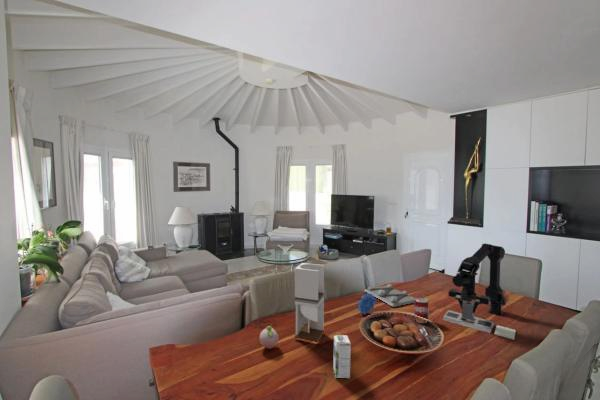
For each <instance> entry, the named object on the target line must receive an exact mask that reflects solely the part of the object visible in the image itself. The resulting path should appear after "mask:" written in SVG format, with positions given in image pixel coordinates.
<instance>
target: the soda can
mask: <svg viewBox="0 0 600 400" xmlns="http://www.w3.org/2000/svg"><path fill="white" fill-rule="evenodd" d="M415 298H416V299H415V300H414V303H413V315H414V314H415V315H417V316H420V317H423V318H426V319H428V320H429V307H430V302H429V300H428V299H426V298H424V297H415Z"/></svg>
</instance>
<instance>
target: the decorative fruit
mask: <svg viewBox="0 0 600 400" xmlns="http://www.w3.org/2000/svg"><path fill="white" fill-rule="evenodd" d="M259 342H260V345H261V346H263V347H264V348H265V349H269V350H270V349H273V348H274V347H276V346H277V344H278V343H279V334H278V332H277V331H276V330H275V329H274V328H273V327H272V326H271V325H268V326H266V327H265V328H264V329H262V331H260V333H259Z"/></svg>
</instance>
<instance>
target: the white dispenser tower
mask: <svg viewBox="0 0 600 400" xmlns="http://www.w3.org/2000/svg"><path fill="white" fill-rule="evenodd" d="M324 292H325V265H324V264H318V263H307V262H301V263H300V264H298V266H296V267H295V268H294V305H295V335H294V339H295V338H300V339H305V340H310V341H315V342H318V340H319V338H320V337H321V335H322V333H323V331H324V329H325V326H324V323H325V322H324V321H325V317H324V316H325V315H324V313H325V312H324V311H325V306H324V305H325V301H324V298H325V294H324ZM321 338H322V337H321Z"/></svg>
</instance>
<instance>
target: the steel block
mask: <svg viewBox="0 0 600 400" xmlns="http://www.w3.org/2000/svg"><path fill="white" fill-rule="evenodd" d="M474 303H475V301H474V302H473V301H471V302H468V301H465V300H464V301H463V303H462V309H461V313H462V318H465V319H469V320H473V318H474V317H475V313H473V310H474ZM465 319H464V320H465ZM469 320H468V321H469Z"/></svg>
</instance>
